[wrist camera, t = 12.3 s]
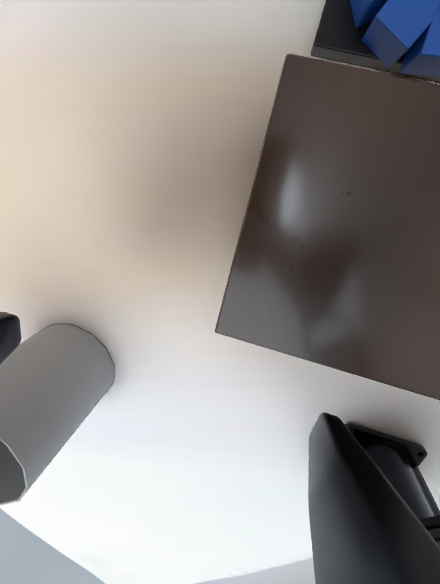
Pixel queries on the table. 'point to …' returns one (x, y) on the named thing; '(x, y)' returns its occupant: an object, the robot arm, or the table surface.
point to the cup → (46, 400)
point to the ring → (402, 32)
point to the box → (344, 227)
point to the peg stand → (349, 40)
